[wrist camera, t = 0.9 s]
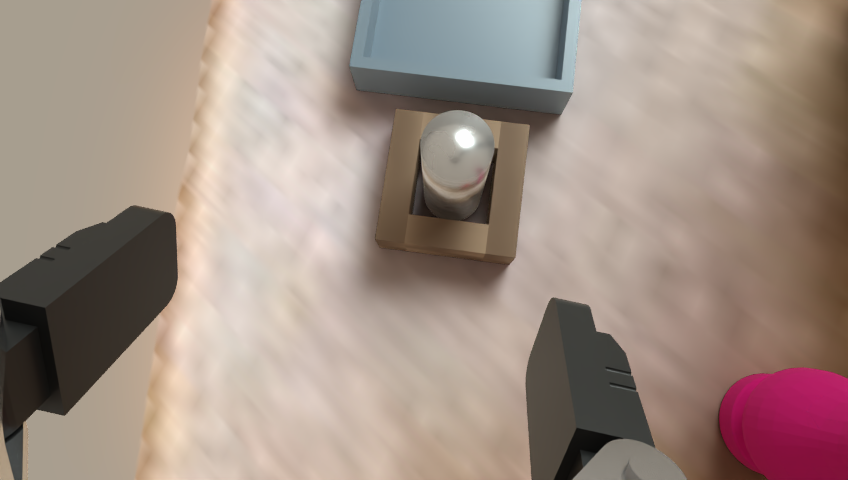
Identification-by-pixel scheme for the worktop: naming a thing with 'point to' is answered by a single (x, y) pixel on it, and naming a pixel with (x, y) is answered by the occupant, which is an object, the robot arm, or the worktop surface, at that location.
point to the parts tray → (469, 51)
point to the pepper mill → (789, 424)
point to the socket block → (444, 234)
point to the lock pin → (455, 163)
